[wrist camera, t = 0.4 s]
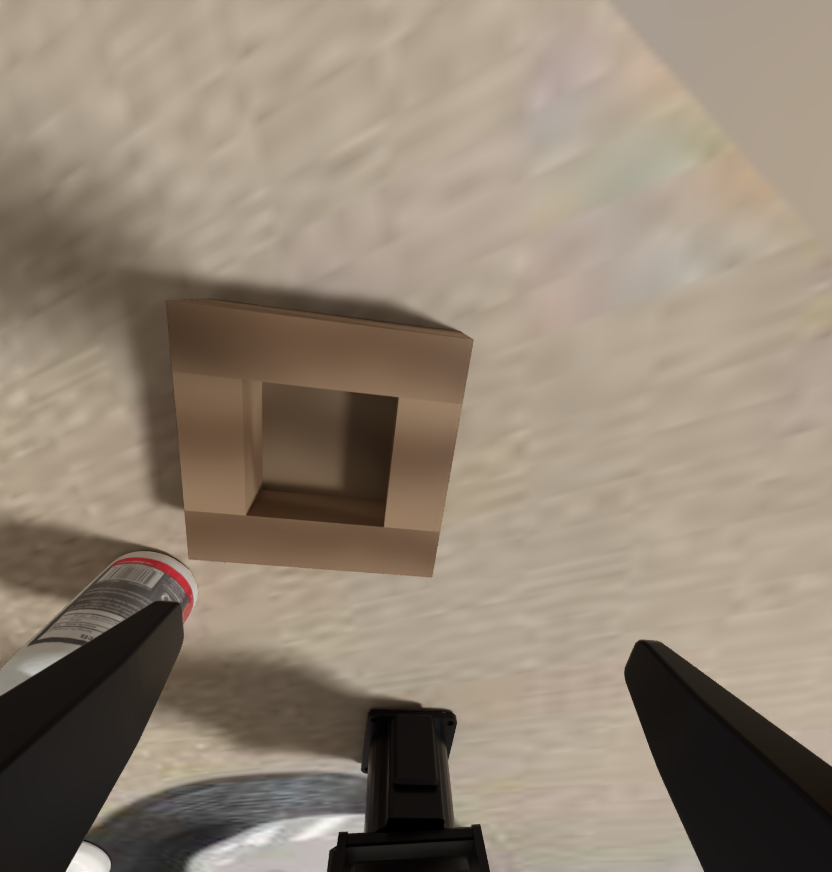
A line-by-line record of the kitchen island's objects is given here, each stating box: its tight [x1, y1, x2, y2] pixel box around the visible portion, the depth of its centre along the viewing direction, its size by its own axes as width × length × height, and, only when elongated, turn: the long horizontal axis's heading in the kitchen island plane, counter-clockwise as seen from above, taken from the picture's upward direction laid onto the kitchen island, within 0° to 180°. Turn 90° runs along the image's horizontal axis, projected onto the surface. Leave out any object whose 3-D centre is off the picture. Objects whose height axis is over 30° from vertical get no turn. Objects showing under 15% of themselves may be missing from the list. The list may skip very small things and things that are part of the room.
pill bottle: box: [0, 551, 198, 696], centre depth 19 cm, size 5×5×10 cm
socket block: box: [166, 299, 473, 577], centre depth 19 cm, size 12×12×4 cm
